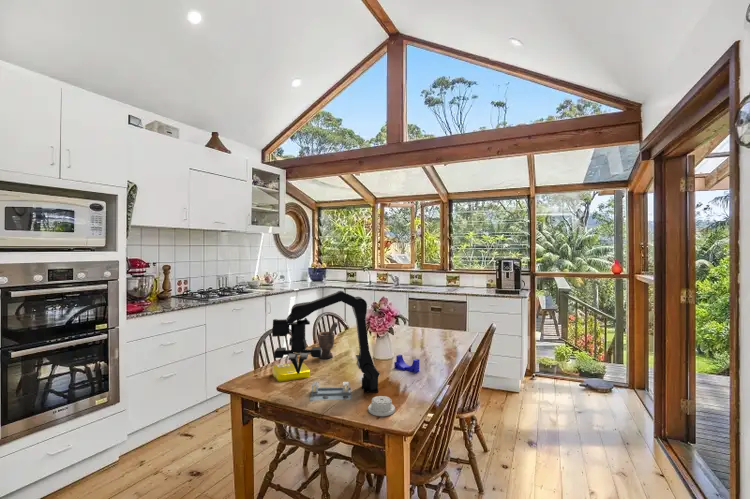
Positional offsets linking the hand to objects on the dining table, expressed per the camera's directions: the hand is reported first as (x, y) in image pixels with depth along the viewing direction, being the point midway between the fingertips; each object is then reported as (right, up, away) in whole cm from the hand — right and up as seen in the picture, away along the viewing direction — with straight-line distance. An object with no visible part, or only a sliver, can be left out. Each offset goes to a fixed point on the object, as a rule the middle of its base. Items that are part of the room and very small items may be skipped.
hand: (298, 373), depth 155 cm
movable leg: (+7, -8, -1) cm, 11 cm away
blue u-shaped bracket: (+47, -9, +32) cm, 58 cm away
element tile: (-8, -9, +22) cm, 25 cm away
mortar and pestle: (+6, -8, +51) cm, 52 cm away
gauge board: (+13, -9, 0) cm, 16 cm away
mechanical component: (+34, -10, -13) cm, 38 cm away
